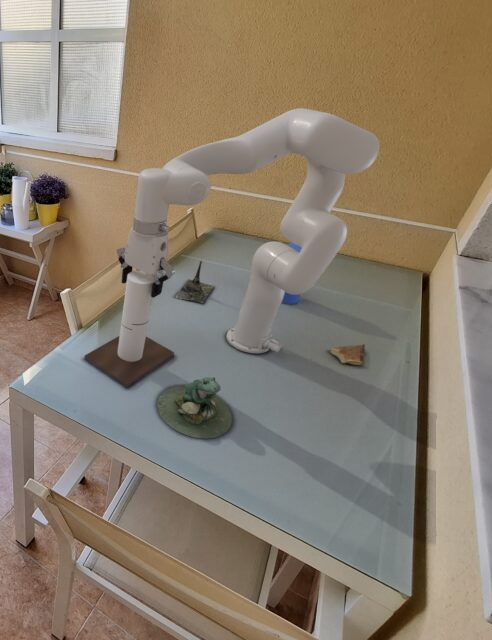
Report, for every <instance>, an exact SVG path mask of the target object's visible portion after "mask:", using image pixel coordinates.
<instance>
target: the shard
mask: <svg viewBox="0 0 492 640" xmlns="http://www.w3.org/2000/svg"><path fill="white" fill-rule="evenodd" d="M365 347H366V345H365V344H357V345H344V346H343V345H342V346H337V347H336V346H335V347H332V348H331V349H330V353H331V355H333V356H335V357H337V358H338V359H339V361H340V362H341V363H342V364H350V365H355V366H361V365H363V363H364V355H365Z"/></svg>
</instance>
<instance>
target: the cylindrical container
mask: <svg viewBox="0 0 492 640" xmlns="http://www.w3.org/2000/svg"><path fill="white" fill-rule="evenodd" d="M153 283H155V281H154V279H153V276H152V275H151V274H148V273H145V272H143V271H141V270H132V272H130V273H129V274H128V275H127V282H126V283H125V292H124V300H123V306H122V314H121V322H120V330H119V336H120V337H119V345H118V356H119V357H120V358H121V359H123V360H125V361H130V362H134V361H138V360H140V359H141V358H142V355H143V349H144V343H145V338H146V337H147V331H148V326H149V321H150V320H149V319H150V314H151V310H152V309H151V308H152V302H153V297H151V292H152V286H153Z"/></svg>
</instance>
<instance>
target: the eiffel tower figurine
mask: <svg viewBox="0 0 492 640" xmlns="http://www.w3.org/2000/svg"><path fill="white" fill-rule="evenodd" d="M202 263H203V260H202V258H201V259H200V260H199V264H198V267H197V270H196V273H195V276H194V277H193V279H187V280H186V282H185V283H184V285H183V286H182V287H181V288H180V290H179V291H178V293H176V295H175V297H174V298H177V299H180V300H185V301H190V302H196V303H199V304H200V303H201V304H204V303H205V301H206V300H207V298H208V296H209V295H210V294H211V292H212V291H213V289H214V287H215V285H211V284H208V283H204V282H201V280H200V275H201V269H202V268H201V267H202Z"/></svg>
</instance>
